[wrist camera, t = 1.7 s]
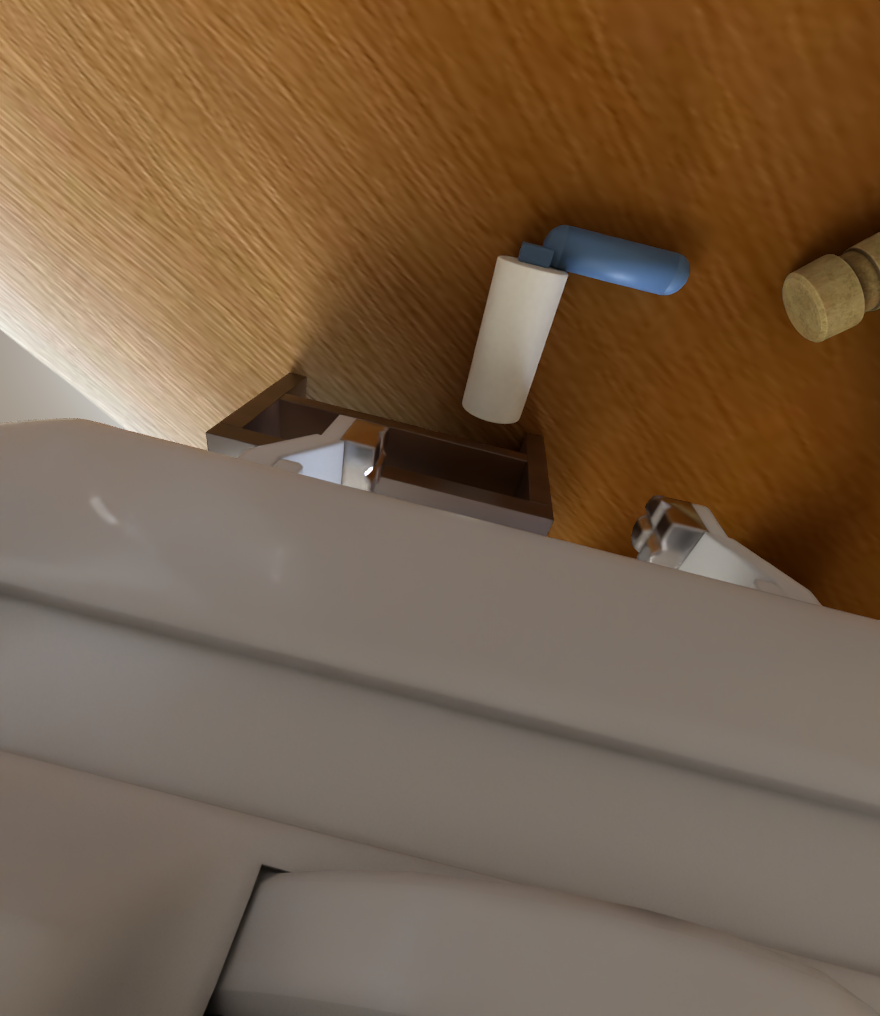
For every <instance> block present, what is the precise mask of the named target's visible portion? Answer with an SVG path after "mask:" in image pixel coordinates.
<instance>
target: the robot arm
mask: <svg viewBox="0 0 880 1016" xmlns="http://www.w3.org/2000/svg"><path fill="white" fill-rule="evenodd" d="M388 439H389V427H385V426H381V425H378V424H374V423H370V422H367V421H363V420H359V419H357V418H353V417H348V416H344V415H339V416H338V417H337V418H336V419H335V420H334V421H333V423H332V424H331V425H330V426H329V427H328V428H327V429H326V430H325V431H324V433H323V434H322V435H319V434H314V435H309V436H304V437H300V438H295V439H290V440H285V441H281V442H276V443H271V444H266V445H262V446H257V447H252V448H247V449H246V450H245V451H243V452H242V453H241V454H240V455H239V456H238V457H236V458H235V457H231V456H227V455H223V454H219V453H215V452H211V451H207V450H203V449H199V448H195V447H191V446H187V445H183V444H179V443H175V442H171V441H167V440H163V439H159V438H155V437H151V436H147V435H143V434H139V433H135V432H132V431H128V430H124V429H120V428H117V427H113V426H110V425H106V424H102V423H98V422H94V421H90V420H85V419H78V418H77V419H75V418H69V419H68V418H63V419H42V420H28V421H17V422H6V423H0V1016H880V621H879V620H875V619H872V618H868V617H864V616H860V615H856V614H852V613H848V612H844V611H840V610H836V609H832V608H828V607H824V606H822V605H821V604H820V603H819V601H818V600H817V599H816V597H815V596H814V595H813V594H812V592H811V591H809V590H808V589H807V588H805V587H804V586H802V585H801V584H799V583H798V582H796V581H795V580H793V579H792V578H790V577H789V576H787V575H786V574H784V573H783V572H781V571H780V570H778V569H777V568H775V567H774V566H773V565H771V564H770V563H768V562H767V561H765V560H764V559H762V558H761V557H759V556H758V555H756V554H755V553H753V552H752V551H750V550H749V549H747V548H746V547H744V546H743V545H741V544H740V543H739V542H737V541H736V540H734V539H731V538H728V536H727V535H726V533H725V532H724V531H723V529H722V528H721V526H720V525H719V523H718V522H717V520H716V519H715V517H714V516H713V514H712V513H711V511H710V510H709V508H708V507H705V506H702V505H697V504H692V503H690V502H686V501H681V500H677V499H673V498H668V497H664V496H659V495H654V496H653V497H652V498H651V499H650V500H649V501H648V503H647V504H646V506H645V508H646V513H647V514H645V515H643V516H641V517H640V518H638V520H637V521H636V523H635V525H634V527H633V531H632V535H631V542H632V545H633V547H634V548H635V549H636V550H637V551H638V552H639V554H638V556H637V559H634V558H630V557H626V556H622V555H618V554H614V553H610V552H606V551H602V550H598V549H595V548H591V547H587V546H583V545H579V544H575V543H571V542H567V541H563V540H559V539H555V538H551V537H547V536H543V535H539V534H535V533H531V532H527V531H523V530H519V529H515V528H511V527H508V526H504V525H500V524H496V523H492V522H488V521H484V520H480V519H476V518H472V517H468V516H464V515H460V514H456V513H452V512H448V511H444V510H440V509H436V508H432V507H428V506H425V505H421V504H417V503H413V502H409V501H405V500H401V499H397V498H393V497H389V496H385V495H381V494H377V493H373V492H374V490H375V484H376V483H379V480H380V478H381V476H382V473H383V470H384V465H385V460H386V453H385V451H384V448H385V447H386V445H387V443H388Z"/></svg>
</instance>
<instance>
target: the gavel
mask: <svg viewBox="0 0 880 1016" xmlns="http://www.w3.org/2000/svg"><path fill="white" fill-rule="evenodd" d="M782 294H783V302H784V306H785V309H786V312H787V315H788V317H789V319H790V321H791V323H792V324H793V326H794V327H795V329H796V330H797V331H798V332H799V333H800V334H801V335H802V336H803V337H804V338H806V339H808V340H810V341H813V342H821V341H824V340H826V339H828V338H830V337H832V336H834V335H836V334H839V333H841V332H843V331H845V330H847V329H849V328H851V327H853V326H856V325H857V324H858V323H860V321H861V320H862V318H863V315H864V313H865V312H867V311H875V310H877V309H879V308H880V232H878V233H877V234H875V235H873V236H871V237H869V238H867V239H865V240H863V241H862V242H860V243H858V244H856V245H854V246H852V247H850V248H848V249H847V250H845V252H844V253H843V254H842V255H841V256H839V257H838V256H836V255H833V254H827V255H824V256H822V257H820V258H818V259H816V260H815V261H813V262H811V263H809V264H807V265H805V266H803V267H802V268H800V269H798V270H796V271H794V272H792V273H790V274H789V275H788V276H787V277H786V279H785V282H784V285H783V291H782Z"/></svg>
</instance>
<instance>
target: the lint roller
mask: <svg viewBox="0 0 880 1016" xmlns="http://www.w3.org/2000/svg"><path fill="white" fill-rule="evenodd" d="M562 270H563V271H562ZM565 271H567V272H571V273H575V274H579V275H583V276H587V277H591V278H595V279H599V280H603V281H607V282H611V283H615V284H619V285H622V286H626V287H630V288H634V289H638V290H642V291H646V292H650V293H654V294H658V295H670V294H673V293H675V292H677V291H678V290H679V289H681V288H682V287H683V285H684V284H685V283H686V281H687V279H688V277H689V274H690V265H689V262H688V260H687V259H686V257H685V256H683V255H682V254H679V253H676V252H672V251H668V250H664V249H660V248H656V247H652V246H648V245H645V244H641V243H637V242H633V241H629V240H625V239H621V238H617V237H613V236H609V235H605V234H601V233H597V232H593V231H589V230H585V229H581V228H577V227H573V226H569V225H560V226H557V227H555V228H554V229H552V230H551V231H550V232H549V233H548V235H547V236H546V238H545V240H544V243H543V246H540V245H536V244H532V243H528V242H524V241H523V242H522V245H521V249H520V252H519V256H518V258H516V257H510V256H498V258H497V262H496V266H495V270H494V274H493V278H492V282H491V286H490V290H489V295H488V299H487V303H486V307H485V311H484V315H483V319H482V323H481V327H480V331H479V335H478V339H477V343H476V347H475V352H474V356H473V360H472V364H471V368H470V372H469V376H468V380H467V384H466V388H465V392H464V396H463V400H462V405H463V407H464V409H465V410H466V411H467V412H469V413H470V414H472V415H473V416H475V417H478V418H480V419H483V420H486V421H489V422H493V423H500V424H510V423H515V422H517V421H518V420H519V419H520V417H521V414H522V411H523V408H524V405H525V402H526V399H527V396H528V393H529V390H530V387H531V384H532V381H533V378H534V375H535V372H536V369H537V366H538V363H539V360H540V357H541V354H542V351H543V349H544V346H545V343H546V340H547V337H548V334H549V331H550V328H551V325H552V322H553V319H554V316H555V313H556V310H557V307H558V304H559V301H560V298H561V295H562V292H563V289H564V286H565V283H566V280H567V277H568V273H566V272H565Z"/></svg>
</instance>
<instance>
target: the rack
mask: <svg viewBox="0 0 880 1016" xmlns="http://www.w3.org/2000/svg"><path fill="white" fill-rule="evenodd" d="M306 383H307V377H305V376H301V375H297V374H293V373H288V374H287V375H285V376H284V377H283V378H281V379H280V380H278V381H277V382H276V383H274V384H273V385H271V386H270V387H269V388H267V389H266V390H264V391H263V392H262V393H260V394H259V395H257V396H256V397H255V398H253V399H252V400H250V401H249V402H248V403H246V404H245V405H243V406H242V407H241V408H239V409H238V410H236V411H235V412H233V413H232V414H231V415H229V416H228V417H226V418H225V419H224V420H222V421H221V422H220V423H218V424H217V425H215V426H214V427H212V428H211V429H210V430H208V431H207V432H206V438H207V445H208V451H211V452H215V453H219V454H223V455H227V456H231V457H235V458H236V457H238V456H239V455H240V454H241V453H242V452H243V451H245V450H246V449H247V448H252V447H257V446H262V445H266V444H271V443H276V442H281V441H285V440H290V439H295V438H300V437H304V436H309V435H314V434H319V435H322V434H323V433H324V431H325V430H326V429H327V428H328V427H329V426H330V425H331V424H332V423H333V421H334V420H335V419H336V418H337V417H338V416H339V415H344V416H348V417H353V418H357V419H359V420H363V421H367V422H370V423H374V424H378V425H381V426H385V427H389V439H388V443H387V445H386V447H385V448H384V451H385V453H386V460H385V465H384V470H383V473H382V476H381V478H380V480H379V483H376V484H375V490H374V492H373V493H377V494H381V495H385V496H389V497H393V498H397V499H401V500H405V501H409V502H413V503H417V504H421V505H425V506H428V507H432V508H436V509H440V510H444V511H448V512H452V513H456V514H460V515H464V516H468V517H472V518H476V519H480V520H484V521H488V522H492V523H496V524H500V525H504V526H508V527H511V528H515V529H519V530H523V531H527V532H531V533H535V534H539V535H543V536H547V534H548V532H549V530H550V528H551V525H552V523H553V521H554V518H553V510H552V502H551V494H550V486H549V478H548V470H547V462H546V454H545V446H544V438H543V436H539V435H535V434H531V433H526V434H525V437H524V440H523V443H522V446H521V449H520V451H519V452H516V451H512V450H508V449H504V448H500V447H496V446H492V445H488V444H484V443H480V442H476V441H472V440H468V439H464V438H461V437H457V436H453V435H449V434H445V433H441V432H437V431H433V430H429V429H425V428H421V427H417V426H413V425H409V424H405V423H401V422H397V421H393V420H389V419H385V418H381V417H377V416H373V415H370V414H366V413H362V412H358V411H354V410H350V409H346V408H342V407H338V406H334V405H330V404H326V403H322V402H318V401H314V400H310V399H306Z"/></svg>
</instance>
